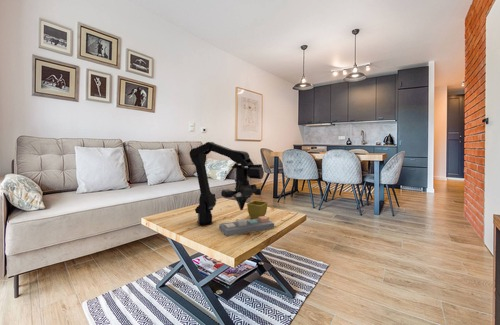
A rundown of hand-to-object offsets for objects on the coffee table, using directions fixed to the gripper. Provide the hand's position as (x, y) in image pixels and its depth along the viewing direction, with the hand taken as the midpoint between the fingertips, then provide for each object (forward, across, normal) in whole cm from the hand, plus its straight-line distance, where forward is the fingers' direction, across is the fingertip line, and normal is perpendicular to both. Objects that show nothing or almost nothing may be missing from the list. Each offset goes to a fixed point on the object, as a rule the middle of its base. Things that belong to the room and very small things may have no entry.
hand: (241, 209), depth 109 cm
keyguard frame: (+10, +3, 0) cm, 10 cm away
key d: (+8, +12, 0) cm, 15 cm away
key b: (+8, 0, 0) cm, 8 cm away
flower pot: (+10, +15, +12) cm, 22 cm away
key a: (+9, -6, 0) cm, 11 cm away
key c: (+10, +6, 0) cm, 11 cm away
